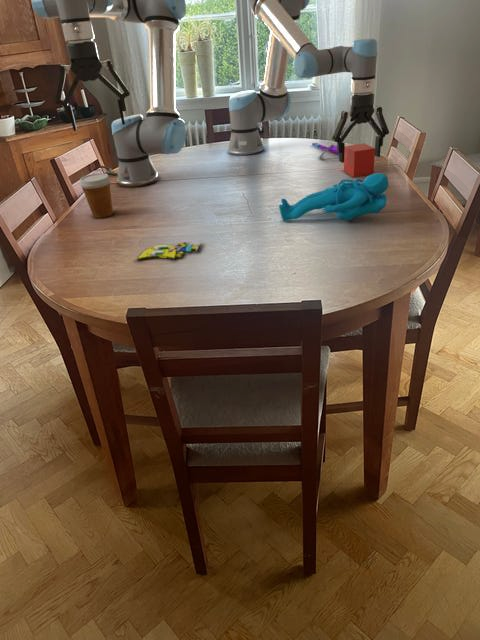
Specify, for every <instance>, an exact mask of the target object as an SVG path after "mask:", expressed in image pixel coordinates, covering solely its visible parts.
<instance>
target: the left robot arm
mask: <svg viewBox="0 0 480 640" xmlns="http://www.w3.org/2000/svg"><path fill="white" fill-rule="evenodd" d="M30 2H31V6H32V9H33V11H34V12H35V14H36V15H37V16H38V17H40V18H41V19H50V20H52V19H58V18H60V25H61V29H62V32H63V37H64V41H65V42H67V44H66V48H67V49H66V50H67V54H68V57H69V63H70V64H69V65H65V64H60V65H59V69H58V70H59V79H58V85H57V89H56V94H55V100H54V103H55V104H56V105H59V106H62V108H63V110H64V115H65V117H66V119H70V121H71V125H72V130H73V132H76V131H77V130H78V128H77V127H78V126H77V123H76V119H75V115H74V112H73V108H72V104H71V103H70V104H69V102H70V101H71V100H70V99H71V98H72V96H73V95H74V92H75V90H76V88H77V86H78V85H79V82H80V81H81V82H83V83H85V82H88V81H91V82H93V81H94V82H95V81H96V80H99V81H100V82H101V83H102V84H104V85H105V86H106V87H107V88H108V89H109V90H110V91H111V92H113V94H115V95H116V97H118V98H117V99H116V100H117V106H118V110H119V115H120V118H118V119H115V120H113V121H112V122H111V132H112V133H111V135H112V138H113V142H114V146H115V151H116V156H117V160H118V167H117V168H118V170H117V172H111V171H112V168H111V167H108V166H104V165H96V166H95V167H94V169H93V170H94V171H97V170H98V169H105V170H107V171H106V173H105V174H107V175H108V176H117V179H116V180H117V183H118V186H120V187H123V188H124V187H125V188H136V187H137V188H138V187H145V186H147V185H148V186H149V185H151V184H154V183H156V182H157V181H158V180H159V176H158V172H157V169H156V168H155V166H154V163H153V161H152V159H151V156H150V155H173V154H174V155H175V154H178V153H180V152H181V151H182V149H183V148H184V146H185V143H186V139H187V127H186V124H185V121H184V120H183V119H181V118H180V116H181V115H180V113H179V112H178V111H177V109H176V33H177V32H178V31H179V30H180V21H183V20H184V19H185V18H186V14H187V6H186V0H30ZM91 18H109V19H110V20H112V21H115V22H126V23H134V24H144V27H145V29H146V30H147V31H148V41H149V42H148V43H149V44H148V45H149V48H148V49H149V94H150V95H149V97H150V101H149V102H150V108H149V109H148V110H147V111H146V113H145V115H146V117H145V119H144V116H143V114H140V113H138V114H133V115H128V116H124V112H126V111H127V106H126V101H125V99H126V98H127V97H129V96H130V94H131V93H130V91H129V89H128V88H127V86H126V85H125V83H124V82H123V80H122V79H121V77H120V76H119V74H118V73H117V72H116V70H115V69H114V66H113V63H112V60H110V59H107V60H103V61H101V60H100V56H99V51H98V48H97V43H96V42H95V41H94V39H95V34H94V29H93V24H92V20H91ZM103 67H104V68H105V70H109V72H110V74H111V76H112V77H113V78H114V80H115V81H116V83H117V85H118V86H119V87H120V89H121V90H122V92H121V91H120V90H119V89H118V88H117V87H116V86H115V85H113V83H111V82H110V81H109V80H108V79H107V78H106V77H105V76H104V75H103V74H102V73H101V71H102V69H103ZM69 71H71V73H72V74H74V78H73V81H72V83H71V85H70V87H69V89H68V91H67V93H66V94H65V97H64V99H62V95H63V91H64V86H65V81H66V75H68V74H69Z"/></svg>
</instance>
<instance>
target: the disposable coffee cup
mask: <svg viewBox="0 0 480 640" xmlns="http://www.w3.org/2000/svg"><path fill="white" fill-rule="evenodd" d="M109 176H110V175H108V174H106V173H103V172H102V173H101V172H99V173H92V174H91V173H90V174H87V175H83V176H82V177H81V178H80V179H79V186H80V187H81V188H82V191H83V194H84V196H85V199H86V201H87V205H88V206H89V209H90V211H91V214H92V217H94V218H96V219H98V218H99V219H100V218H101V219H102V218H107V217H109V216H111V215H113V213H114V211H113V201H112V200H113V199H112V193H111V192H112V191H111V190H112V189H111V178H110V177H109Z"/></svg>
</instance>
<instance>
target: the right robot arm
mask: <svg viewBox="0 0 480 640" xmlns="http://www.w3.org/2000/svg"><path fill="white" fill-rule="evenodd" d="M309 2H310V0H248V3H249V7H250V10H251V12H252V13H253V15H254V16H255V18H256V19H257V20H258V21H260V22H264V24H265V25H266V27H268V29H269V30H270V35H269V42H268V50H267V57H266V65H265V72H264V80H263V82H262V83H260V85H259V90H258V92H256V90H254V89H249V90H243V91H239V92H236V93H234V94H232V95H231V96H230V97H229V99H228V110H229V121H230V123H229V124H230V133H231V134H230V137H229V144H228V153H229V154H231V155H234V156H249V155H254V154H258V153H259V154H260V153H261V152H263V151H264V143H263V140H262V138H261V135H260V133H262V132H263V129H262V127H261V125H260V123H265V122H271V121H277V120H280V119H283V118H285V117H286V116H287V115H288V114H289V112H290V109H291V105H292V104H291V103H292V101H291V94H290V92H289V90H288V88H287V86H286V78H287V71H288V65H289V60H290V57H291V58H292V59H293V66H292V67H293V70H294V74H295V76H296V77H297V78H299V79H310V78H311V79H312V78H316V77H322V76H326V75H333V74H339V73H341V74H342V73H351V85H350V88H351V89H350V93H351V95H350V109H349V111H345V110H342V111H341V113H340V119H339V121H338V123H337V125H336V128H335V130H334V133H333V135H332V137H331V141H332V142H335V143H336V146H337V152H339V154H338V157H339V158H338V162H339V163H343V164H344V151H345V146H346V143H345V142H344V141H345V139H346V138H347V136H349V134H350V132H351V131H352V129H353V128H354V127H356V125H361V124H369V125H370V127H371V128H372V129H373V130H374V132H375V133H376V134H377V135H376V136H375V141H374V148H375V157H377V158H381V149H382V147H383V145H384V138H386V135H389V134H390V130H389V127H388V125H387V122H386V119H385V117H384V114H383V107H382V106H379V105H376V106H375V107H374V105H375V93H374V92H375V89H376V72H377V71H376V70H377V57H378V41H377V39H375V38H360V39H355V40H354V41H353V42H352V46H343V45H338V46H333V47H332V48H323V49H318V48H317V47H316V45H315V44H314V43H313V42H312V41H311V40H310V38H309V37H308V36H307V34H306V33H305V32H304V31H303V29H302V28H301V27H300V26H299V25H298V24H297V21H299V20H300V16H301V11H303V10H305V9H307V7H308V5H309ZM374 114H375V116H376V119H377V121H378V123H379V125H378V124H377V122H376V121H375V119H374V118H373V115H374ZM348 118H350V119H349V120H348ZM347 120H348V122H347ZM346 123H347V124H346ZM345 125H346V126H345Z"/></svg>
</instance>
